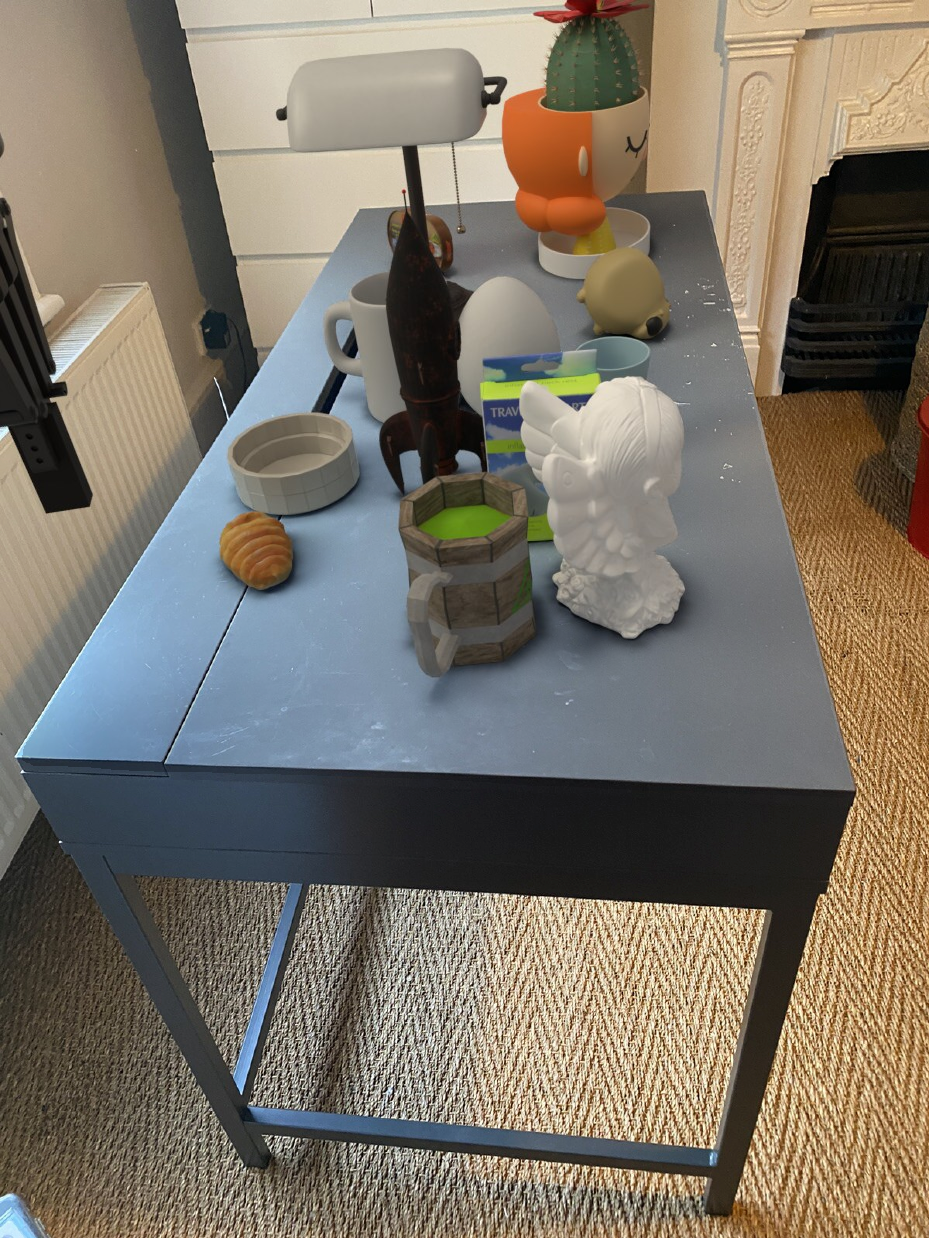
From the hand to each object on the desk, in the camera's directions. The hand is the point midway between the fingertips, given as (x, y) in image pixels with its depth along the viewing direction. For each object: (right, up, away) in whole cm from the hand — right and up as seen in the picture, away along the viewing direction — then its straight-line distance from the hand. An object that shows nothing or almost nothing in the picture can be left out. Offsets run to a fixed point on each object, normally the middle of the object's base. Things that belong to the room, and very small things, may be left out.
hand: (69, 503), depth 59 cm
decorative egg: (+30, +18, +51) cm, 62 cm away
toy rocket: (+23, +5, +38) cm, 44 cm away
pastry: (+5, -2, +32) cm, 32 cm away
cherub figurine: (+38, -6, +22) cm, 44 cm away
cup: (+41, +12, +42) cm, 60 cm away
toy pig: (+46, +30, +63) cm, 84 cm away
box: (+33, +1, +31) cm, 45 cm away
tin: (+18, +48, +88) cm, 102 cm away
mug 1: (+17, +19, +54) cm, 60 cm away
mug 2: (+25, -9, +20) cm, 33 cm away
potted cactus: (+43, +49, +86) cm, 108 cm away
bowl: (+7, +7, +42) cm, 43 cm away
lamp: (+20, +33, +70) cm, 80 cm away
